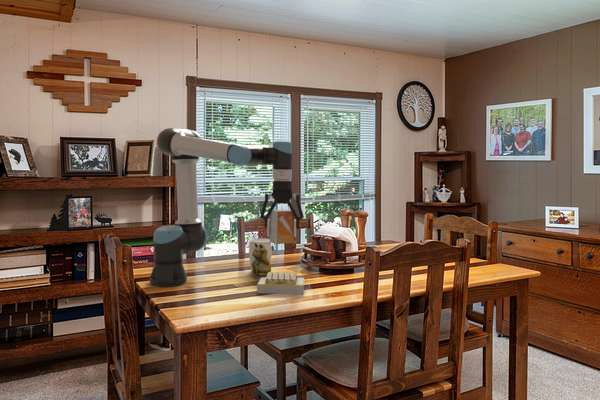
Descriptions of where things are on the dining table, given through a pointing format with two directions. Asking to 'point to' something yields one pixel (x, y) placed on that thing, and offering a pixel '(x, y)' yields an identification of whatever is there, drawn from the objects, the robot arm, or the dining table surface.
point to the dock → (281, 287)
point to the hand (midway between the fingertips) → (281, 235)
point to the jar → (259, 241)
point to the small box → (281, 227)
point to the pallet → (281, 278)
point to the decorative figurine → (260, 262)
